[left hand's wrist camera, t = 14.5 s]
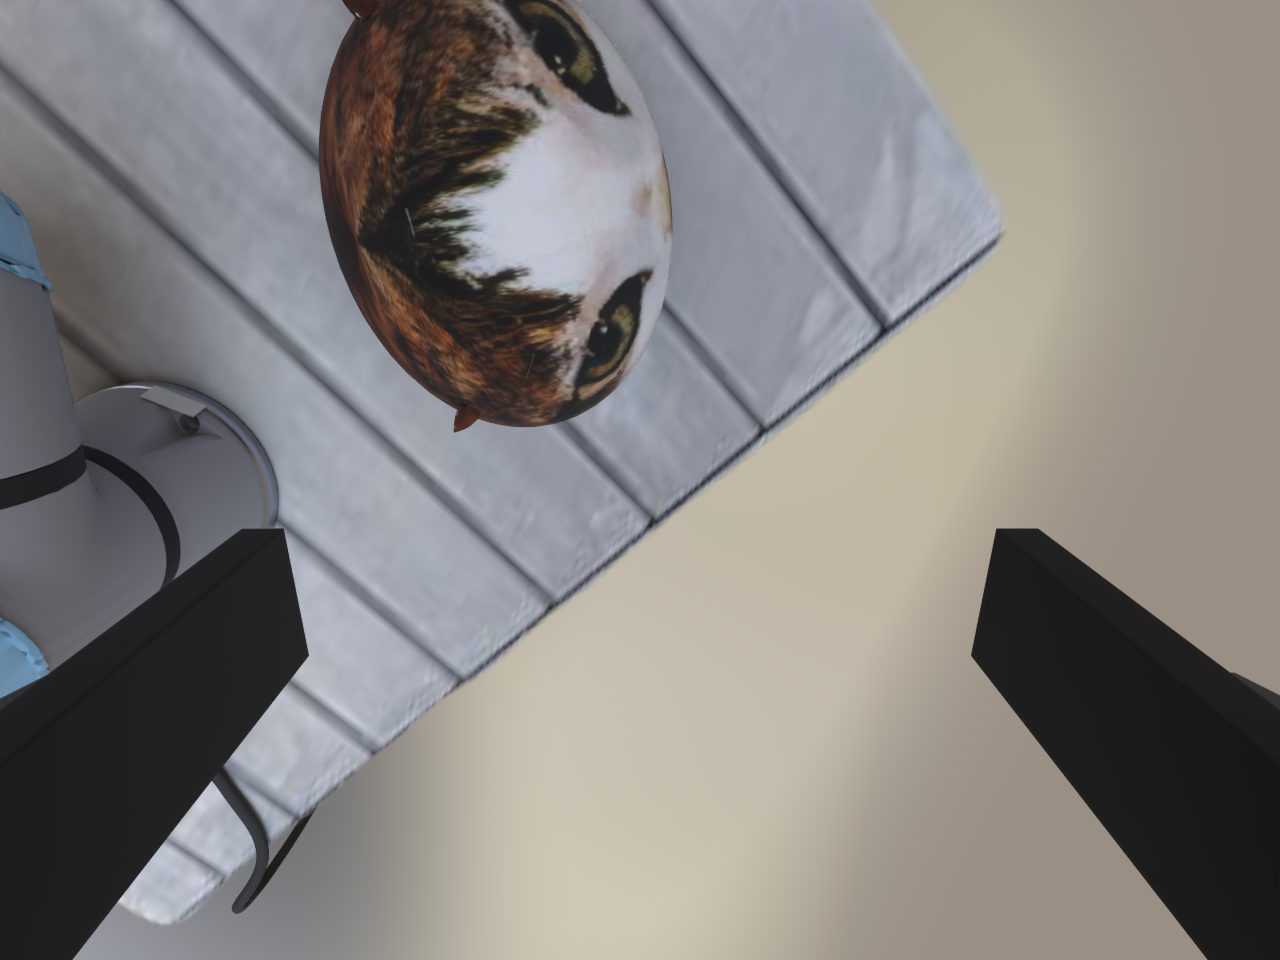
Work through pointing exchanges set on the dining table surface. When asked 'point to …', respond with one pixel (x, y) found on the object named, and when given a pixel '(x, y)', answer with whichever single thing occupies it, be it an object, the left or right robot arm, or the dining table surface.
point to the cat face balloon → (496, 201)
